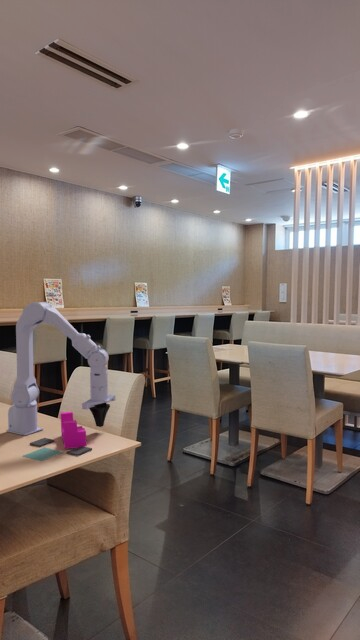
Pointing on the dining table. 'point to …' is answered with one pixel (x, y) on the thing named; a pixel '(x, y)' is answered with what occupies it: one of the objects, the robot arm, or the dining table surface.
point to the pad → (42, 454)
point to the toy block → (72, 431)
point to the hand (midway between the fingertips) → (99, 426)
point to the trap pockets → (74, 451)
